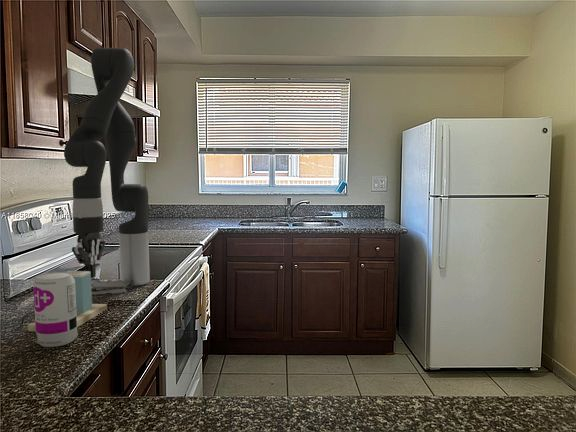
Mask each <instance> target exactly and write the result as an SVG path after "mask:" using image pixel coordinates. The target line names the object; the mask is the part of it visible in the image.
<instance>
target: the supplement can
mask: <svg viewBox="0 0 576 432" xmlns="http://www.w3.org/2000/svg"><path fill="white" fill-rule="evenodd" d="M32 289H33V290H32V291H33V303H34V304H33V305H34V308H33V309H34V322H35V325H36V331H35V340H36V343H37V344H38V345H40V346H41V347H45V348H54V347H55V348H57V347H62V346H65V345H68V344H71V343H72V342H74V341H75V339H77V337H78V327H77V314H76V295H75V280H74V278H73V277H72V275H71V273H68V272H67V271H54V272H53V271H52V272H47V273H42V274H39V275H37V276H36V277H35V280H34V282H33V284H32Z"/></svg>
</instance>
